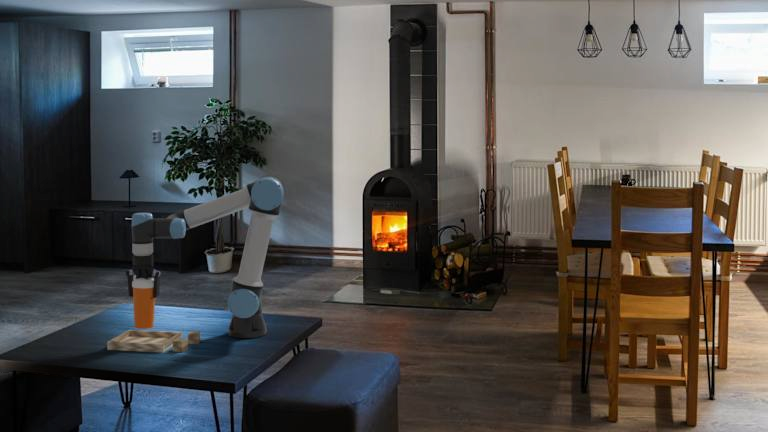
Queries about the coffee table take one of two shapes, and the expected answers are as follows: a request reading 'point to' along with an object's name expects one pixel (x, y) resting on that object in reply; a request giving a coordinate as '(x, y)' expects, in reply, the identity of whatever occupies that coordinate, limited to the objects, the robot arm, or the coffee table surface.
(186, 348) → the oak block
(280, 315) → the coffee table surface
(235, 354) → the coffee table surface
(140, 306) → the shaker bottle
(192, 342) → the oak block
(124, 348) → the tray
